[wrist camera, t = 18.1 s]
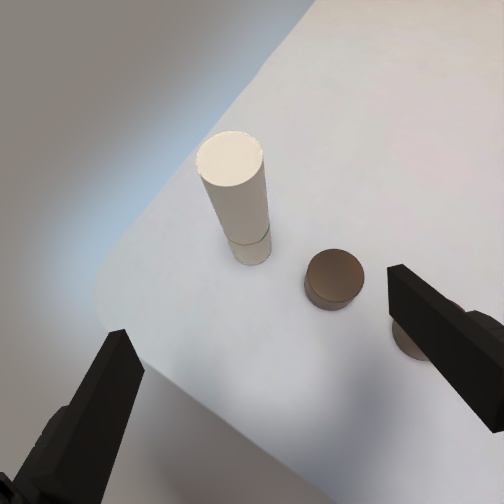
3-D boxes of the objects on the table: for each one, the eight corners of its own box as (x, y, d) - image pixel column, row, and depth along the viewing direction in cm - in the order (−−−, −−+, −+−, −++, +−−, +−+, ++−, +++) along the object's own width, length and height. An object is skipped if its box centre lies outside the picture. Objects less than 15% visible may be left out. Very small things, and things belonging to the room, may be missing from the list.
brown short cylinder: (409, 368, 27) (429, 368, 24) (382, 316, 29) (397, 308, 25) (460, 349, 27) (488, 346, 24) (430, 298, 29) (451, 288, 26)
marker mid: (316, 317, 30) (320, 310, 26) (297, 272, 32) (298, 259, 28) (363, 300, 30) (374, 290, 26) (341, 256, 32) (349, 241, 28)
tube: (243, 272, 32) (212, 197, 18) (226, 240, 34) (185, 149, 20) (278, 253, 32) (275, 166, 19) (259, 222, 34) (243, 121, 20)
